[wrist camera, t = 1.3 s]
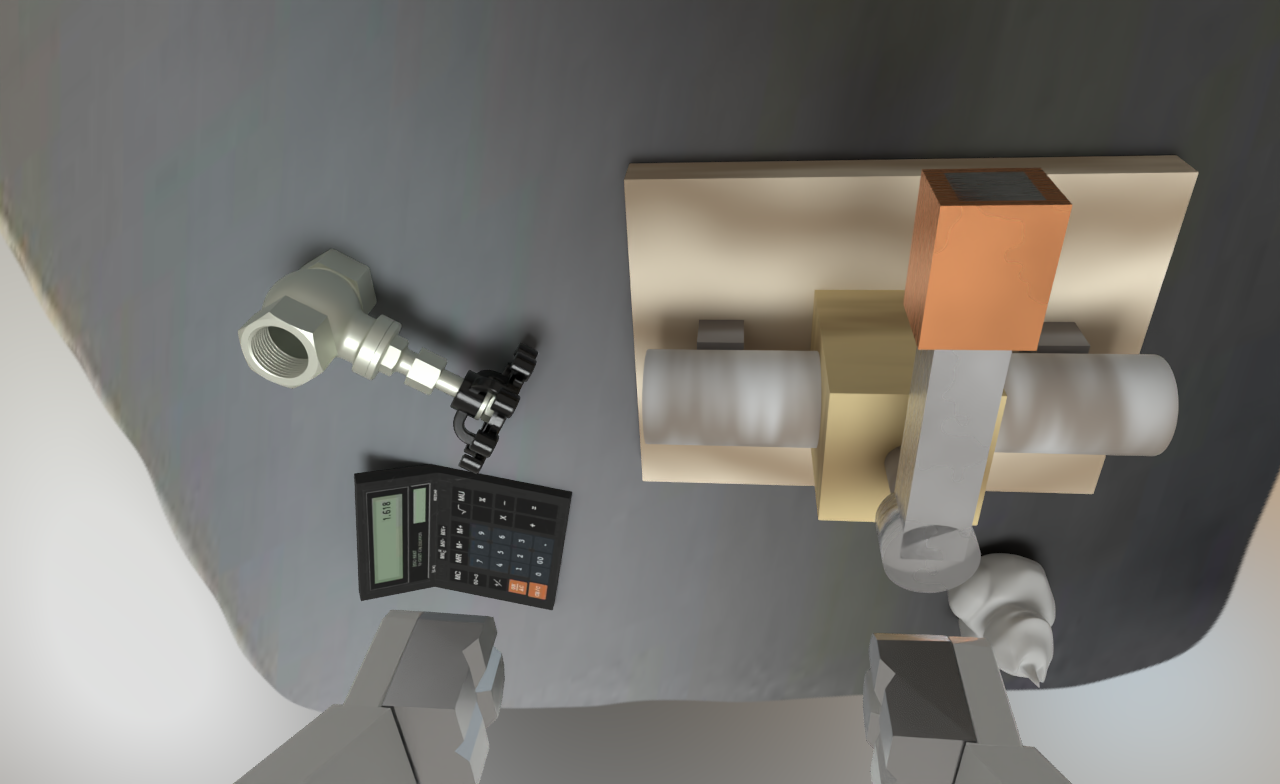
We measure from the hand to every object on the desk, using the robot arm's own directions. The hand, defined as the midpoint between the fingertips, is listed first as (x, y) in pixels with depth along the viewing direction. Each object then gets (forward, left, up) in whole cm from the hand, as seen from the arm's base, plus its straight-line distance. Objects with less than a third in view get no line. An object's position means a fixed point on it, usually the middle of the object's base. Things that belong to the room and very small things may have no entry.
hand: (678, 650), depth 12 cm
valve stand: (+10, +7, -27) cm, 30 cm away
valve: (+10, -15, -28) cm, 33 cm away
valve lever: (+5, +7, -14) cm, 17 cm away
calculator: (+24, -15, -28) cm, 40 cm away
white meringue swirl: (+26, +15, -27) cm, 41 cm away
